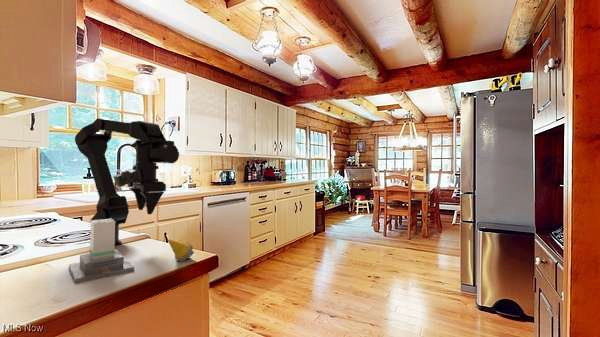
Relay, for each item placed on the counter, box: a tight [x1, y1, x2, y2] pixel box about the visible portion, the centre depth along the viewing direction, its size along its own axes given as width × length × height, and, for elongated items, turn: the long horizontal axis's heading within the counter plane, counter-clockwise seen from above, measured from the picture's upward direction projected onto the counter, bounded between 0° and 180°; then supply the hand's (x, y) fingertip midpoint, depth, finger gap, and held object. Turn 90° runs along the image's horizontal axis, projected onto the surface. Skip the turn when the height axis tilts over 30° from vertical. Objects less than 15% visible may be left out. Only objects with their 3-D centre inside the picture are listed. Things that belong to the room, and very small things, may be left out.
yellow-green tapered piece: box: [167, 239, 195, 262], centre depth 82 cm, size 5×5×10 cm
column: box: [89, 219, 116, 260], centre depth 74 cm, size 5×5×9 cm
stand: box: [68, 248, 135, 284], centre depth 74 cm, size 12×12×4 cm
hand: (145, 211), depth 90 cm, fingers open, 9 cm apart
